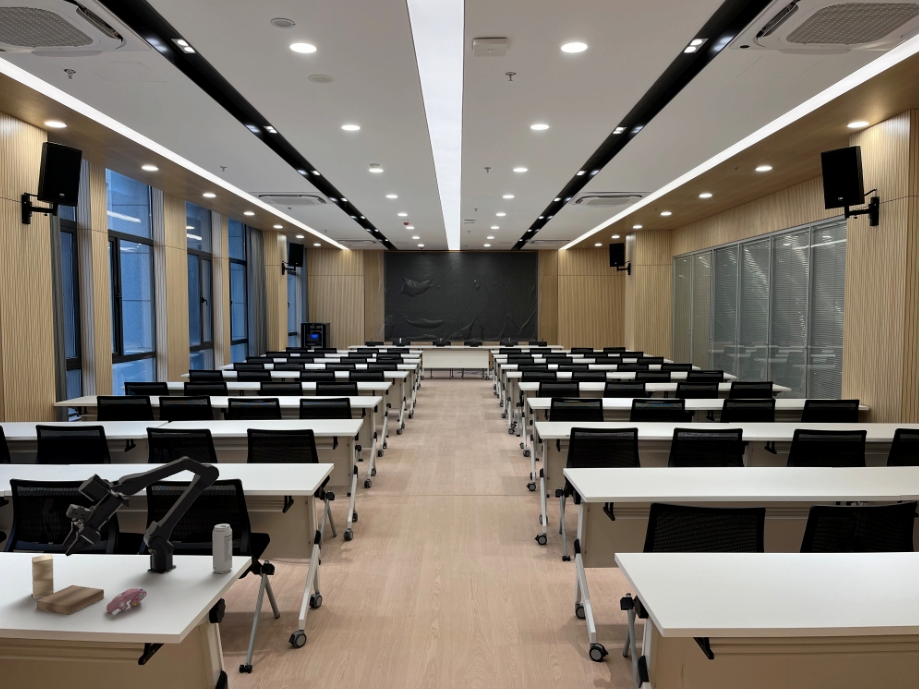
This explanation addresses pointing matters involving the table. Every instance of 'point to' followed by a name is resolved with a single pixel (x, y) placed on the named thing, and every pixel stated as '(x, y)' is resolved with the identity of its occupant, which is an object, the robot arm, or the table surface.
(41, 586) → the birch block
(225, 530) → the energy drink can
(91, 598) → the walnut base block
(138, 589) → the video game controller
